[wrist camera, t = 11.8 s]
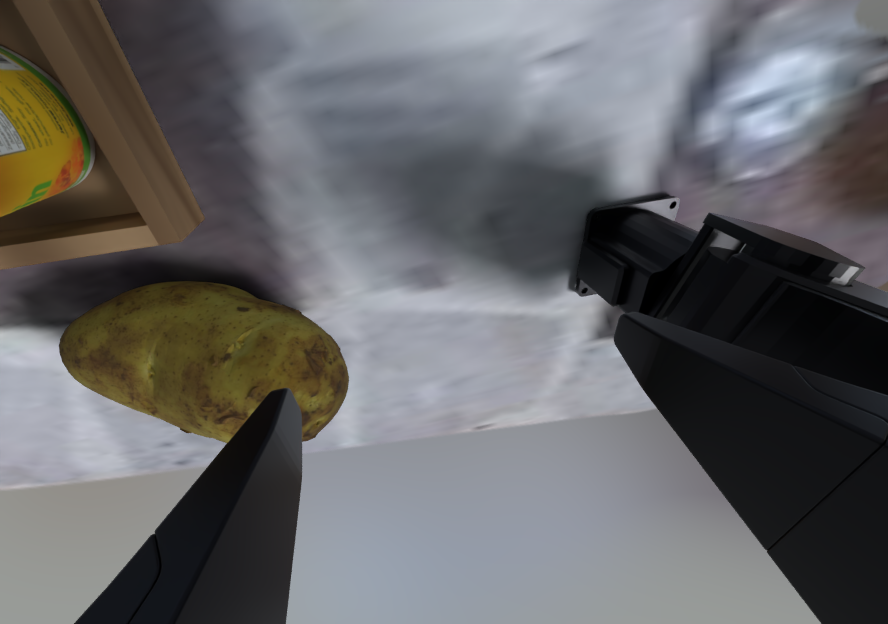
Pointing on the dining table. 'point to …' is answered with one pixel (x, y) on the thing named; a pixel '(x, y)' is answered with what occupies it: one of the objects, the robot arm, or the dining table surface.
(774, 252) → the robot arm
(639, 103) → the dining table surface
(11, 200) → the supplement bottle
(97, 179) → the open wooden box
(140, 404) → the potato
